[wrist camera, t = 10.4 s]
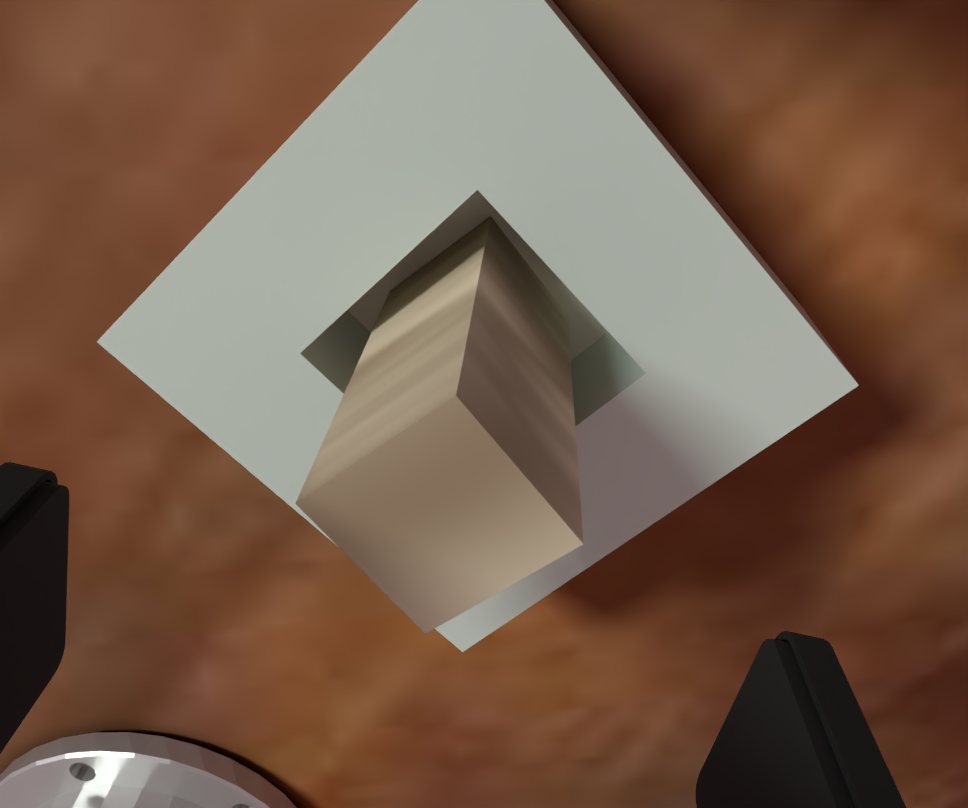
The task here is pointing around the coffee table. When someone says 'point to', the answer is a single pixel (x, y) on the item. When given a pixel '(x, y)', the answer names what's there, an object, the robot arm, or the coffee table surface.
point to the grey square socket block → (537, 237)
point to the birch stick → (455, 436)
